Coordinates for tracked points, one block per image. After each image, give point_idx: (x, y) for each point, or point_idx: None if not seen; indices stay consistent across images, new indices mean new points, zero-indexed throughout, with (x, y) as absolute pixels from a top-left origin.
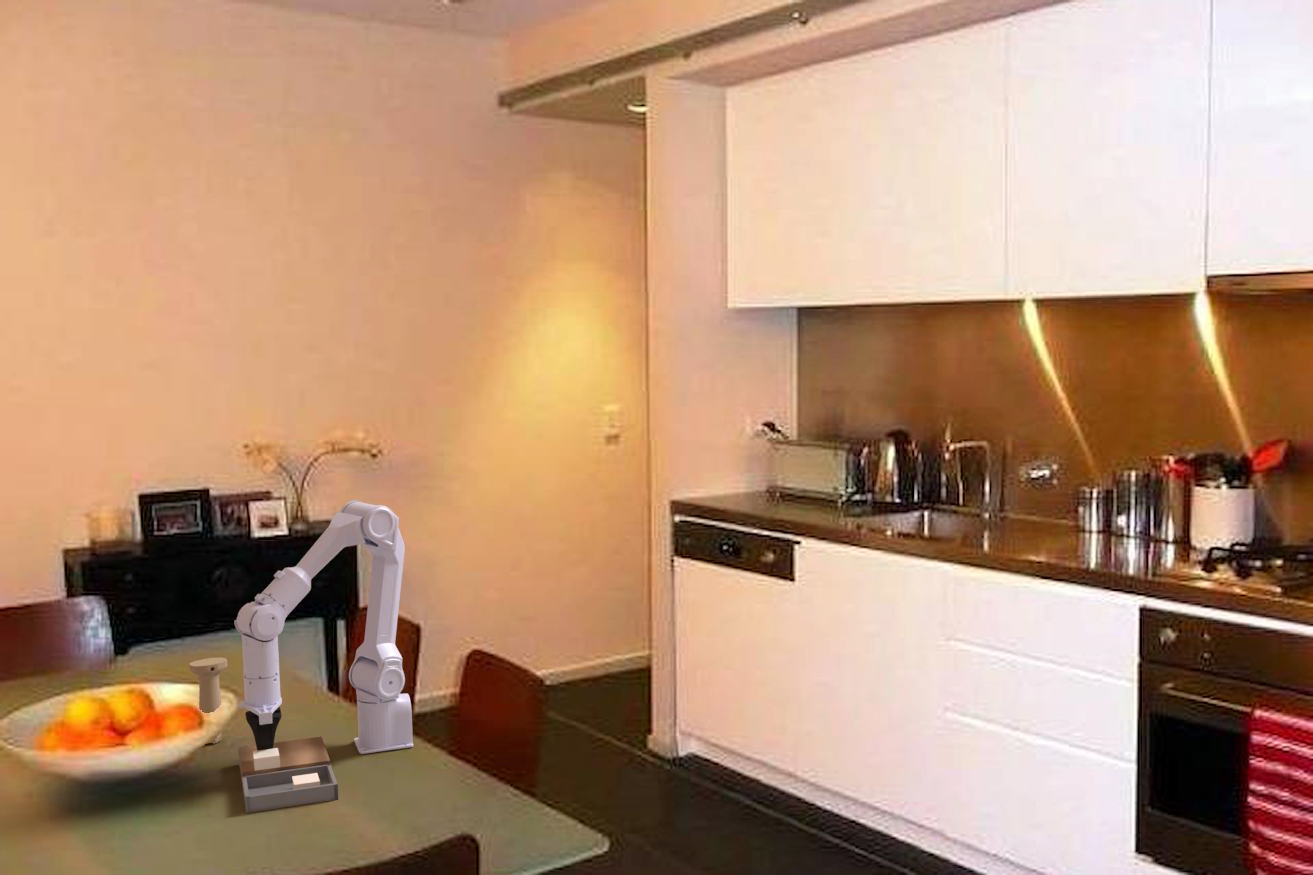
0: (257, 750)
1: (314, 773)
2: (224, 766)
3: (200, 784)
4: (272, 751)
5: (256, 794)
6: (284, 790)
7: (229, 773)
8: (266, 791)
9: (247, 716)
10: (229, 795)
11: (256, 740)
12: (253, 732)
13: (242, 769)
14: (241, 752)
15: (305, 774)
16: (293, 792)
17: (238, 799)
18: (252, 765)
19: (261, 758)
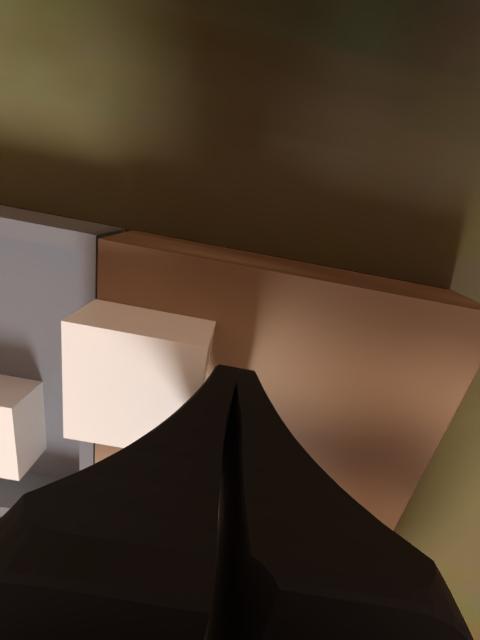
0: (213, 371)
1: (15, 472)
2: (474, 229)
3: (315, 64)
4: (146, 426)
5: (25, 260)
6: (30, 355)
7: (369, 228)
8: (43, 301)
9: (68, 601)
10: (100, 165)
11: (181, 406)
12: (141, 437)
13: (146, 252)
14: (412, 310)
15: (15, 448)
16: None
17: (39, 189)
18: (182, 309)
19: (65, 356)
